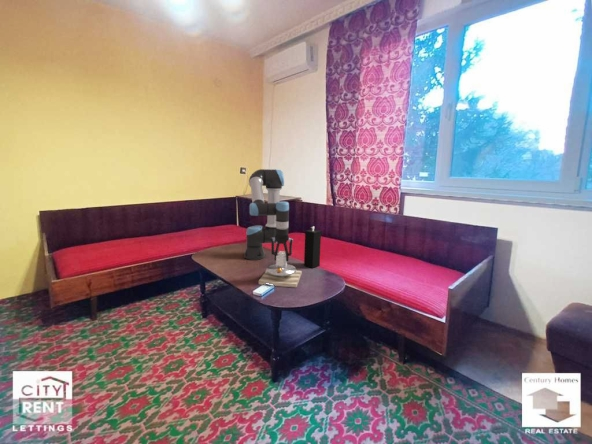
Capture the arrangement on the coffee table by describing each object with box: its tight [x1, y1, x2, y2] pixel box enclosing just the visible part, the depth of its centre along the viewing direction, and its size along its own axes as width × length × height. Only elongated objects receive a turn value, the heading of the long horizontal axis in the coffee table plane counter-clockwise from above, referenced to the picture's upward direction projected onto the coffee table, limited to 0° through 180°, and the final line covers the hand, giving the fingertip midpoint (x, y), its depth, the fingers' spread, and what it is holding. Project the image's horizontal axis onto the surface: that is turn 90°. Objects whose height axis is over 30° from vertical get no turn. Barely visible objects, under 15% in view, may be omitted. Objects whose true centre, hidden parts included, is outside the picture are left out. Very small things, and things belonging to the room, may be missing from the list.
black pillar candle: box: [303, 225, 322, 269], centre depth 200 cm, size 8×8×28 cm
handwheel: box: [265, 250, 297, 276], centre depth 175 cm, size 18×18×11 cm
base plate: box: [258, 269, 302, 288], centre depth 177 cm, size 22×22×5 cm
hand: (281, 265), depth 176 cm, fingers closed on handwheel, 4 cm apart
